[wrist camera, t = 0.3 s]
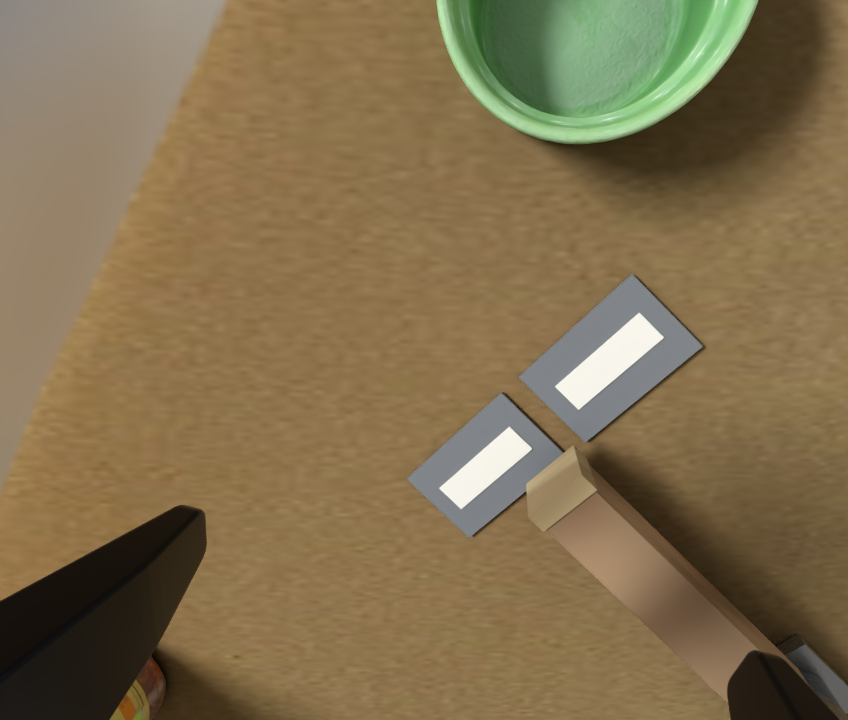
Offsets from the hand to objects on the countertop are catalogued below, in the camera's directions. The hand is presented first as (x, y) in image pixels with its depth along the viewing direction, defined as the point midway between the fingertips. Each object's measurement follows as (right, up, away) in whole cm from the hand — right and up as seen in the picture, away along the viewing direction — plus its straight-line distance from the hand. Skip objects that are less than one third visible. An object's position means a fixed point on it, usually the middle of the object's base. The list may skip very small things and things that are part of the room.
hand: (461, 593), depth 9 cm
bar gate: (+10, -5, +14) cm, 17 cm away
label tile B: (+7, +4, +13) cm, 15 cm away
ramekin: (+5, +16, +10) cm, 20 cm away
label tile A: (+2, -1, +15) cm, 15 cm away
